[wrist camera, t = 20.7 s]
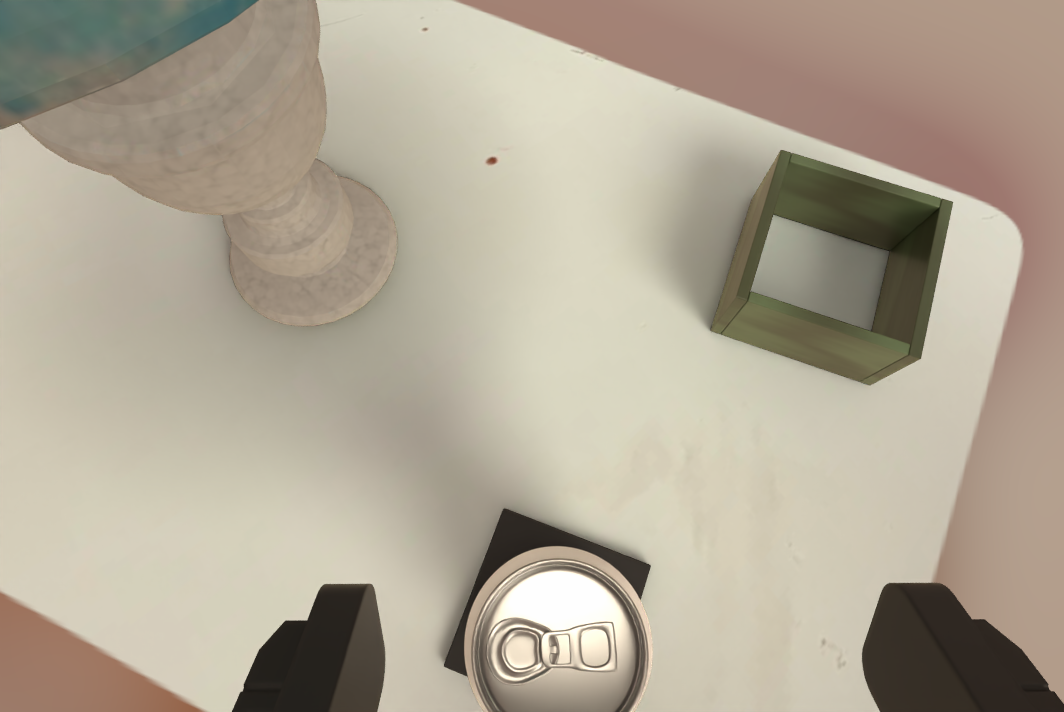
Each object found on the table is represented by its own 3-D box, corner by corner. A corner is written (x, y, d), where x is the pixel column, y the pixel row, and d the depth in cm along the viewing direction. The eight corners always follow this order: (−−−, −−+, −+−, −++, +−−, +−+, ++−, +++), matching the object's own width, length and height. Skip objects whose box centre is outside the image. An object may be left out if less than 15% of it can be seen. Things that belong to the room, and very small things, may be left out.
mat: (649, 565, 33) (651, 565, 32) (598, 729, 31) (599, 732, 30) (504, 508, 34) (503, 507, 33) (444, 664, 32) (443, 666, 31)
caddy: (901, 246, 38) (953, 201, 34) (869, 386, 36) (921, 358, 31) (751, 198, 39) (781, 149, 35) (710, 331, 37) (735, 297, 32)
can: (484, 552, 33) (455, 549, 21) (611, 546, 33) (651, 539, 21) (487, 694, 31) (458, 774, 19) (623, 687, 31) (674, 763, 19)
